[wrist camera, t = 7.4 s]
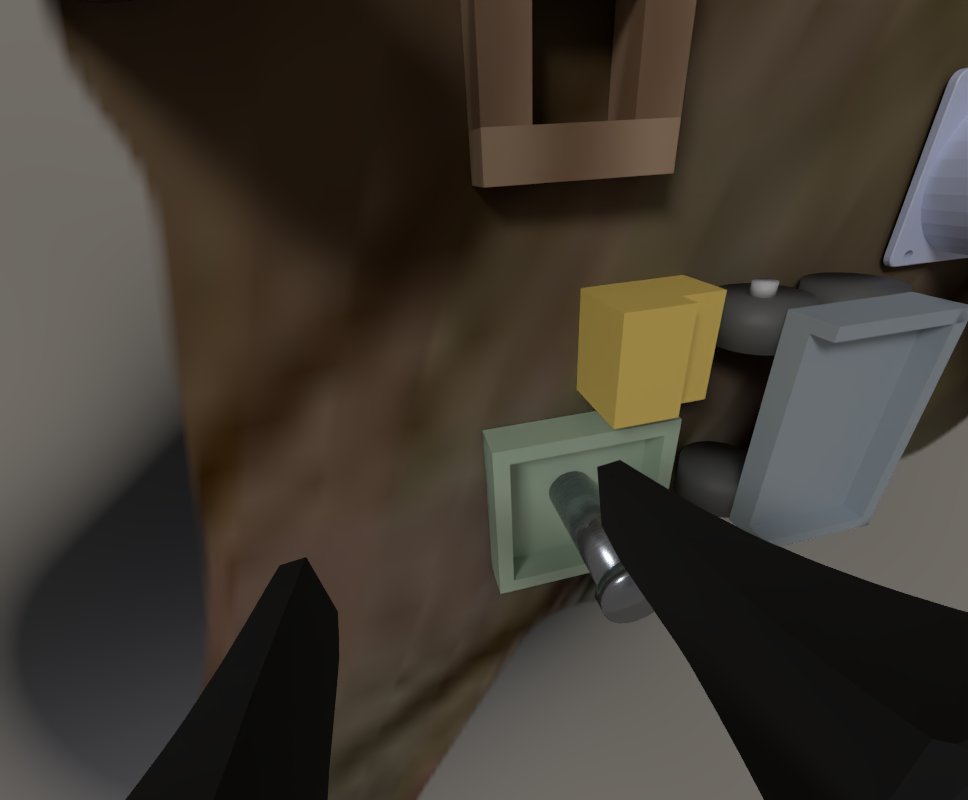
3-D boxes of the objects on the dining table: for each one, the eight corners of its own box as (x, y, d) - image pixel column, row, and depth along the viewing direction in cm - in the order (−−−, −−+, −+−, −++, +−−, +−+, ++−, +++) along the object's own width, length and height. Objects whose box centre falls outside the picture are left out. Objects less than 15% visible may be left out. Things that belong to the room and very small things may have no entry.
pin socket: (668, -72, 14) (711, -106, 12) (643, 172, 17) (673, 173, 16) (455, -79, 13) (467, -117, 11) (471, 185, 16) (483, 187, 14)
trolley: (853, 256, 22) (1012, 285, 16) (785, 458, 27) (886, 528, 22) (693, 276, 20) (811, 314, 15) (658, 484, 26) (732, 566, 21)
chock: (681, 274, 20) (745, 296, 17) (666, 372, 22) (720, 409, 19) (579, 287, 19) (624, 313, 16) (575, 387, 22) (613, 429, 18)
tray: (658, 400, 23) (681, 418, 21) (638, 532, 27) (656, 556, 26) (482, 430, 21) (492, 453, 20) (491, 565, 26) (500, 593, 24)
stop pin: (597, 462, 23) (676, 564, 17) (593, 504, 25) (665, 613, 19) (544, 472, 23) (606, 581, 17) (542, 515, 24) (600, 630, 18)
